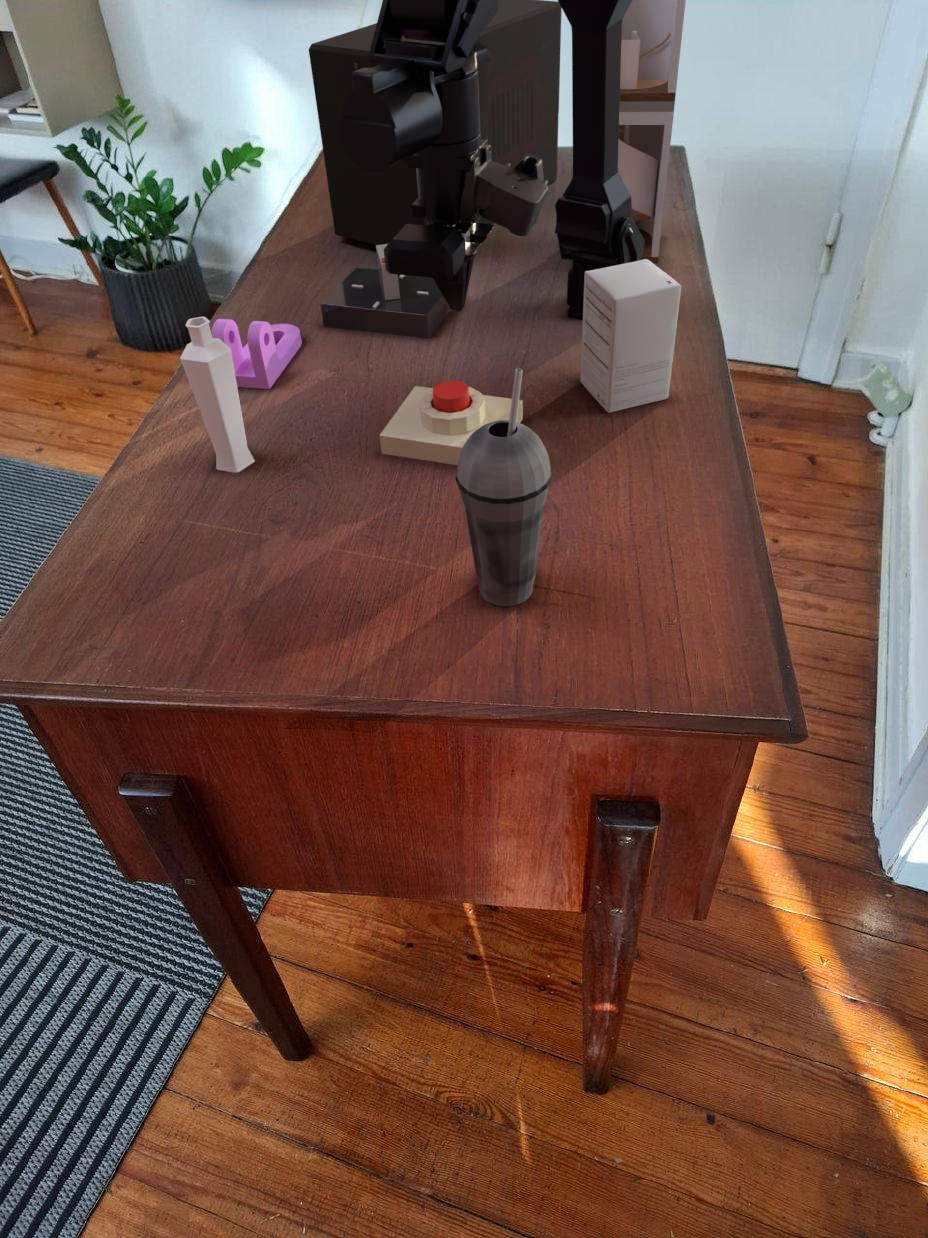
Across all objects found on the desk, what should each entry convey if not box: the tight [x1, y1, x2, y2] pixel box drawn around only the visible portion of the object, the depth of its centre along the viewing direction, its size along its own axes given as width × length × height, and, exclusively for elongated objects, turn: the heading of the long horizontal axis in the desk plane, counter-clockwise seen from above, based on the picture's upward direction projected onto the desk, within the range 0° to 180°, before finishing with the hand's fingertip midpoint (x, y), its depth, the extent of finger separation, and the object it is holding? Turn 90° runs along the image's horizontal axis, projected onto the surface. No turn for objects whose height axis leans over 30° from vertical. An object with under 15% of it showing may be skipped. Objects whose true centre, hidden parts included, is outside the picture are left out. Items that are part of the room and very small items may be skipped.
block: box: [379, 385, 524, 466], centre depth 91 cm, size 12×10×4 cm
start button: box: [432, 380, 469, 413], centre depth 89 cm, size 4×4×2 cm
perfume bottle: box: [179, 316, 256, 474], centre depth 85 cm, size 5×4×15 cm
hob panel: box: [320, 267, 452, 339], centre depth 112 cm, size 14×11×3 cm
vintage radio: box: [308, 0, 562, 246], centre depth 129 cm, size 38×20×25 cm, turn 144°
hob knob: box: [375, 244, 400, 300], centre depth 110 cm, size 6×2×5 cm, turn 11°
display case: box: [618, 0, 687, 267], centre depth 111 cm, size 11×11×35 cm
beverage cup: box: [455, 368, 553, 607], centre depth 68 cm, size 7×7×20 cm
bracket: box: [211, 318, 303, 390], centre depth 103 cm, size 13×6×7 cm, turn 167°
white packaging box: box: [579, 259, 682, 414], centre depth 93 cm, size 7×7×13 cm
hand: (457, 309), depth 87 cm, fingers closed
